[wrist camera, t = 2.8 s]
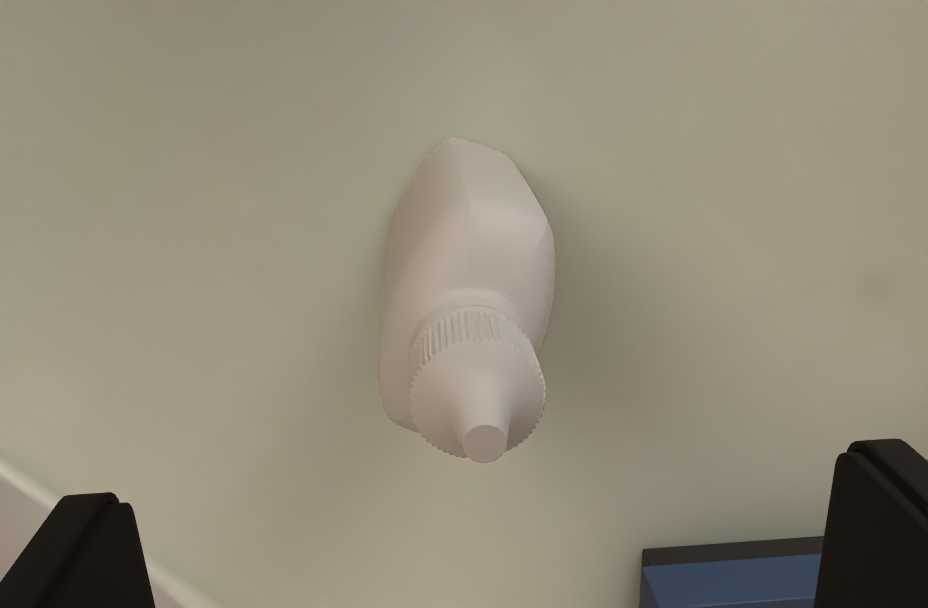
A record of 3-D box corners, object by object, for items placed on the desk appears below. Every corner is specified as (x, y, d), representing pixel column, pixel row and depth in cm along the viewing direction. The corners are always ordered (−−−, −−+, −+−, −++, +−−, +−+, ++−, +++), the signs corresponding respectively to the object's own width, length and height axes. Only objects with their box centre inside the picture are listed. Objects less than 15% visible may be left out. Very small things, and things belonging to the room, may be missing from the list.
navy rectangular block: (624, 629, 29) (651, 710, 26) (629, 536, 28) (658, 609, 24) (928, 606, 30) (993, 682, 27) (951, 513, 28) (1022, 581, 25)
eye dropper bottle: (566, 220, 23) (708, 423, 12) (429, 337, 24) (446, 620, 13) (471, 111, 22) (533, 226, 11) (331, 240, 23) (256, 465, 12)
